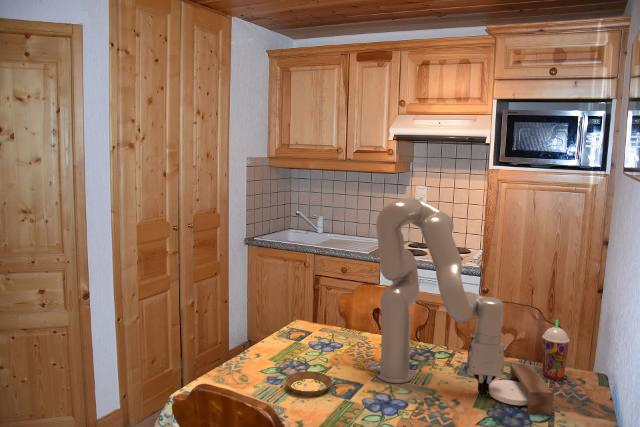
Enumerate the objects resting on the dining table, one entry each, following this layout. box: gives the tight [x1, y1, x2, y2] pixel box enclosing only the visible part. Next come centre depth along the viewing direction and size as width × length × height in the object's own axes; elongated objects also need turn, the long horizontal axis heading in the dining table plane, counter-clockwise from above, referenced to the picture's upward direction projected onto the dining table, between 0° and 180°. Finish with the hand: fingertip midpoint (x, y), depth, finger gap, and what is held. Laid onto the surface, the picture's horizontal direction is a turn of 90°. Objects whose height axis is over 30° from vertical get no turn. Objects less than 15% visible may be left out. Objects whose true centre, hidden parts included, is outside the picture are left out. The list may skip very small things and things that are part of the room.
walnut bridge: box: [509, 363, 554, 416], centre depth 162 cm, size 6×20×7 cm, turn 176°
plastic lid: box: [487, 379, 528, 406], centre depth 163 cm, size 14×14×2 cm
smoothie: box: [542, 319, 570, 381], centre depth 177 cm, size 8×8×20 cm
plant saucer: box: [285, 371, 333, 396], centre depth 168 cm, size 15×15×3 cm
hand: (482, 393), depth 164 cm, fingers closed
